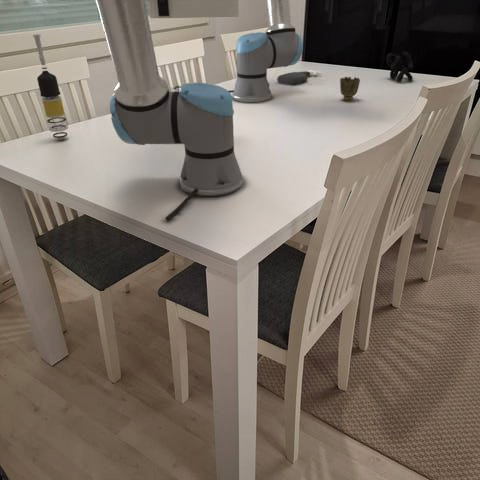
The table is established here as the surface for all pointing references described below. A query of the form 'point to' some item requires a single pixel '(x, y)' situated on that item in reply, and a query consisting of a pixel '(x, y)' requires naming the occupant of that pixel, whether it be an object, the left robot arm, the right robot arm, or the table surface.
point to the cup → (349, 87)
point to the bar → (196, 8)
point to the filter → (50, 95)
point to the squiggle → (399, 66)
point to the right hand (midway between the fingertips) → (351, 23)
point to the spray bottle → (295, 77)
